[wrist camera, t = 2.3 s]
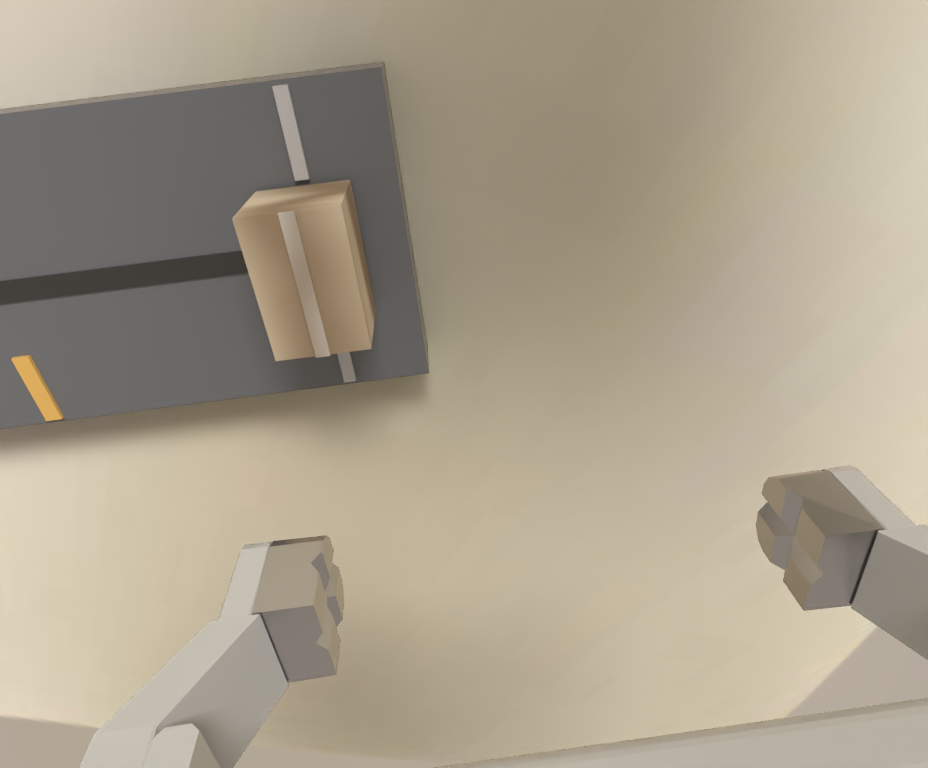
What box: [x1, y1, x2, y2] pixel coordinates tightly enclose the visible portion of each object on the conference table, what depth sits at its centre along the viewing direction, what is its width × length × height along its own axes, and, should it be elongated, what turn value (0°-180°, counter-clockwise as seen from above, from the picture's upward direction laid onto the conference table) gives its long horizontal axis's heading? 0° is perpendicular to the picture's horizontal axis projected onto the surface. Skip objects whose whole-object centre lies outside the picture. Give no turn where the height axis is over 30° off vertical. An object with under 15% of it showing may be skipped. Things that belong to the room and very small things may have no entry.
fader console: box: [0, 62, 429, 429], centre depth 28 cm, size 26×14×3 cm, turn 96°
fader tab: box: [232, 180, 376, 361], centre depth 25 cm, size 4×6×4 cm, turn 6°
